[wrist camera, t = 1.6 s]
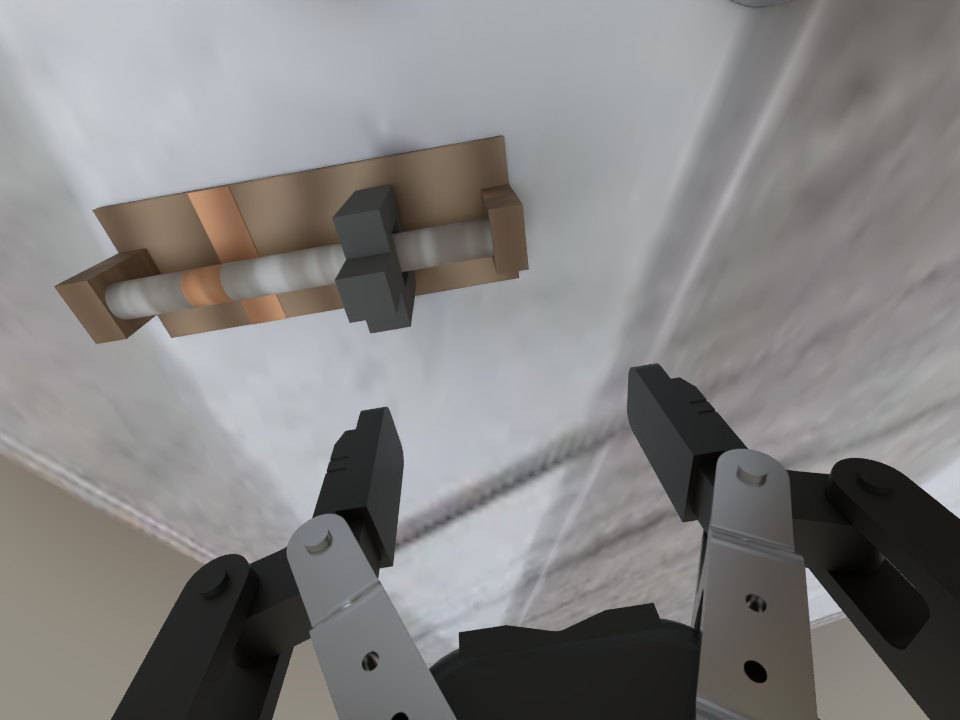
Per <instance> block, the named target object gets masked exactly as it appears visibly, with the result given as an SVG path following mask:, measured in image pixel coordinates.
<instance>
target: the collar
mask: <svg viewBox="0 0 960 720" xmlns="http://www.w3.org/2000/svg"><path fill="white" fill-rule="evenodd" d="M332 219H333V222H334V225H335V228H336V231H337V234H338V237H339V240H340V243H341V246H342V249H343V252H344V255H345V258H346V261H345V262H344V264H343V266H342V268H341V269H340V271H339V273H338V275H337V277H336V278H335V283H336V286H337V288H338V291H339V294H340V297H341V300H342V303H343V305H344V308H345V311H346V314H347V317H348V319H349V322H350V323H352V322H357V321H363V320H366V322H367V325H368V328H369V331H370V333H376V332H382V331H387V330H393V329H399V328H405V327H411V321H412V313H413V306H414V298H415V291H416V279H415V274H414V270H411V271H406V272H401V268H400V264H399V261H398V257H397V253H396V249H395V246H394V242H393V238H392V234H395V233H400V232H404V230H403V226H402V222H401V218H400V214H399V210H398V206H397V202H396V198H395V194H394V190H393V186H392V184H391V185H385V186H380V187H374V188H368V189H363V190H357V191H354V193H353V194H352V195H351V196H350V197H349V198H348V200H347V201H346V202H345V203H344V204H343V206H342V207H341V208H340V209H339V210H338V211H337V213H336V214H335V215H334V216H333V217H332Z"/></svg>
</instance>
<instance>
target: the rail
mask: <svg viewBox="0 0 960 720" xmlns="http://www.w3.org/2000/svg"><path fill="white" fill-rule="evenodd" d="M391 184H392V186H393V190H394V194H395V198H396V202H397V206H398V210H399V214H400V218H401V222H402V226H403V230H404V232H400V233H395V234H392V238H393V242H394V246H395V249H396V253H397V257H398V261H399V264H400V268H401V272H406V271H411V270H414V274H415V279H416V291H415V296H417V295H423V294H429V293H435V292H440V291H446V290H452V289H458V288H463V287H469V286H475V285H481V284H487V283H492V282H498V281H504V280H510V279H516V278H519V272H518V271H522V270H527V269H529V268H528V258H527V248H526V237H525V227H524V217H523V207H522V203H521V201H520V200H519V198H518V197H517V196H516V194H515V193H514V191H513V190H512V188H511V187H510V185H509V182H508V173H507V164H506V155H505V146H504V137H503V136H502V135H501V136H496V137H490V138H485V139H479V140H473V141H468V142H462V143H457V144H451V145H446V146H440V147H434V148H429V149H423V150H418V151H412V152H407V153H401V154H395V155H390V156H384V157H379V158H373V159H367V160H362V161H356V162H351V163H345V164H340V165H334V166H328V167H323V168H317V169H312V170H306V171H301V172H295V173H289V174H284V175H278V176H273V177H267V178H262V179H256V180H250V181H245V182H239V183H234V184H228V185H223V186H217V187H211V188H206V189H200V190H195V191H189V192H184V193H178V194H172V195H167V196H161V197H156V198H150V199H144V200H139V201H133V202H128V203H122V204H117V205H111V206H105V207H100V208H97V209H94V210H93V212H94V213H95V215H96V217H97V218H98V220H99V222H100V223H101V225H102V226H103V228H104V230H105V231H106V233H107V235H108V236H109V238H110V239H111V241H112V243H113V244H114V246H115V247H116V249H117V251H118V252H119V253H118V254H116V255H114V256H112V257H111V258H109V259H107V260H105V261H103V262H101V263H99V264H97V265H95V266H93V267H91V268H89V269H87V270H85V271H83V272H81V273H79V274H77V275H75V276H73V277H71V278H69V279H67V280H66V281H64V282H62V283H60V284H58V285H56V286H54V287H55V288H56V290H57V291H58V293H59V294H60V295H61V297H62V298H63V299H64V301H65V302H66V303H67V305H68V306H69V308H70V309H71V310H72V312H73V313H74V314H75V316H76V317H77V318H78V320H79V321H80V323H81V324H82V325H83V327H84V328H85V329H86V331H87V332H88V334H89V335H90V336H91V338H92V339H93V340H94V342H95V343H96V344H99V343H105V342H111V341H117V340H122V339H127V338H128V337H129V336H131V335H132V334H133V333H134V332H136V331H137V330H138V329H139V328H141V327H142V326H143V325H145V324H146V323H147V322H148V321H150V320H151V319H152V318H153V317H155V316H156V315H158V317H159V319H160V320H161V322H162V323H163V325H164V327H165V328H166V330H167V332H168V333H169V335H170V336H171V338H174V337H180V336H185V335H191V334H197V333H203V332H209V331H214V330H220V329H226V328H232V327H238V326H243V325H249V324H258V323H264V322H269V321H275V320H281V319H287V318H290V317H295V316H301V315H307V314H313V313H319V312H324V311H330V310H336V309H342V308H344V305H343V303H342V300H341V297H340V294H339V291H338V288H337V286H336V283H335V278H336V277H337V275H338V273H339V271H340V269H341V268H342V266H343V264H344V262H345V261H346V258H345V255H344V252H343V249H342V246H341V243H340V240H339V237H338V234H337V231H336V228H335V225H334V222H333V219H332V217H333V216H334V215H335V214H336V213H337V211H338V210H339V209H340V208H341V207H342V206H343V204H344V203H345V202H346V201H347V200H348V198H349V197H350V196H351V195H352V194H353V193H354V191H357V190H363V189H368V188H374V187H380V186H385V185H391Z"/></svg>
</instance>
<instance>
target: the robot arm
mask: <svg viewBox="0 0 960 720" xmlns="http://www.w3.org/2000/svg"><path fill="white" fill-rule="evenodd" d="M733 1H736V2H738V3H741V4H743V5H746V6H753V7H765V6H770V5H775V4H780V3H784V2H788V1H792V0H733ZM627 414H628V420H629V423H630V426H631V429H632V431H633V433H634V435H635V436H636V438H637V440H638V442H639V444H640V446H641V447H642V449H643V451H644V453H645V455H646V456H647V458H648V460H649V462H650V464H651V466H652V467H653V469H654V471H655V473H656V475H657V476H658V478H659V480H660V482H661V484H662V486H663V487H664V489H665V491H666V493H667V495H668V497H669V498H670V500H671V502H672V504H673V506H674V507H675V509H676V511H677V513H678V515H679V517H680V518H681V520H682V522H688V521H695V520H698V521H699V522H700V524H701V526H702V528H703V534H702V540H701V549H700V557H699V566H698V575H697V583H696V592H695V601H694V608H693V614H692V620H691V627H690V626H687V625H685V624H682V623H679V622H675V621H671V620H667V619H660V618H659V615H658V613H657V610H656V608H655V605H654V603H650V604H643V605H636V606H630V607H623V608H617V609H610V610H605V611H603V612H600V613H598V614H596V615H594V616H592V617H590V618H588V619H585V620H583V621H581V622H579V623H577V624H575V625H573V626H570V627H568V628H566V629H564V630H561V631H547V630H539V629H532V628H524V627H516V626H508V625H505V626H498V627H492V628H485V629H479V630H472V631H465V632H459V649H457V650H455V651H453V652H451V653H449V654H448V655H446V656H444V657H443V658H441V659H440V660H439V661H438V662H436V663H435V664H434V665H433V666H431V667H430V668H429V669H428V667H427V665H426V663H425V661H424V660H423V658H422V656H421V654H420V652H419V651H418V649H417V647H416V645H415V643H414V642H413V640H412V638H411V636H410V634H409V633H408V631H407V629H406V627H405V625H404V624H403V622H402V620H401V618H400V616H399V614H398V613H397V611H396V609H395V607H394V605H393V604H392V602H391V600H390V598H389V596H388V595H387V593H386V591H385V589H384V587H383V586H382V584H381V582H380V581H379V580H378V576H379V569H380V568H385V567H391V566H393V561H394V552H395V542H396V533H397V524H398V514H399V505H400V495H401V486H402V477H403V467H404V458H403V450H402V446H401V442H400V439H399V436H398V433H397V431H396V428H395V425H394V422H393V419H392V416H391V413H390V410H389V408H388V407H382V408H376V409H370V410H363V411H361V412H360V415H359V419H358V423H357V427H356V429H354V430H348V431H345V432H344V434H343V435H342V436H341V437H340V439H339V440H338V441H337V442H336V444H335V445H334V449H333V452H332V455H331V458H330V459H331V462H329V465H328V468H327V474H326V475H325V478H324V481H323V485H322V488H321V491H320V494H319V498H318V501H317V504H316V508H315V511H314V514H313V517H312V519H310V520H308V521H307V522H305V523H304V524H303V525H302V526H300V527H299V528H298V529H297V530H296V531H295V533H294V534H293V535H292V537H291V539H290V540H289V543H288V546H287V547H286V548H284V549H282V550H280V551H278V552H276V553H273V554H271V555H269V556H267V557H264V558H262V559H260V560H258V561H255V562H253V563H251V564H249V563H248V561H247V560H246V559H245V558H244V557H243V556H241V555H238V554H228V555H224V556H221V557H218V558H216V559H214V560H212V561H210V562H209V563H207V564H206V565H204V566H203V567H201V568H200V569H199V570H198V571H197V572H196V573H195V574H194V575H193V576H192V577H191V578H190V580H189V581H188V582H187V584H186V585H185V587H184V589H183V591H182V592H181V594H180V596H179V598H178V600H177V601H176V603H175V605H174V607H173V608H172V610H171V612H170V614H169V616H168V618H167V619H166V621H165V623H164V625H163V627H162V628H161V630H160V632H159V634H158V635H157V637H156V639H155V641H154V643H153V645H152V646H151V648H150V650H149V652H148V654H147V655H146V657H145V659H144V661H143V663H142V664H141V666H140V668H139V670H138V672H137V673H136V675H135V677H134V679H133V681H132V682H131V684H130V686H129V688H128V690H127V691H126V693H125V695H124V697H123V699H122V701H121V703H120V704H119V706H118V708H117V710H116V712H115V713H114V715H113V717H112V719H111V720H272V718H273V714H274V711H275V708H276V705H277V701H278V698H279V694H280V691H281V688H282V684H283V681H284V678H285V674H286V671H287V668H288V665H289V661H290V658H291V655H292V651H293V648H294V646H296V645H298V644H300V643H302V642H303V641H306V640H308V639H310V638H311V641H312V644H313V647H314V649H315V652H316V655H317V658H318V661H319V664H320V667H321V669H322V672H323V675H324V678H325V681H326V683H327V687H328V689H329V692H330V695H331V698H332V701H333V704H334V706H335V709H336V712H337V715H338V718H339V720H820V719H819V718H818V716H817V706H816V705H817V704H816V692H815V681H814V668H813V657H812V645H811V632H810V620H809V608H808V596H807V584H806V572H805V567H806V568H809V570H810V571H811V572H812V573H813V575H814V576H815V577H816V578H817V580H818V581H819V582H820V583H821V585H822V586H823V587H824V588H825V590H826V591H827V592H828V593H829V594H830V596H831V597H832V598H833V599H834V601H835V602H836V603H837V604H838V606H839V607H840V608H841V609H842V611H843V612H844V613H845V614H846V616H847V617H848V618H849V619H850V621H851V622H852V623H853V624H854V626H855V627H856V628H857V629H858V631H859V632H860V633H861V634H862V636H863V637H864V638H865V639H866V641H867V642H868V643H869V644H870V646H871V647H872V648H873V649H874V650H875V652H876V653H877V654H878V656H879V657H880V658H881V659H882V661H883V662H884V663H885V664H886V665H887V667H888V668H889V669H890V670H891V672H892V673H893V674H894V675H895V676H896V678H897V679H898V680H899V682H900V683H901V684H902V685H903V687H904V688H905V689H906V690H907V692H908V693H909V694H910V695H911V696H912V698H913V699H914V700H915V701H916V703H917V704H918V705H919V706H920V708H921V709H922V710H923V711H924V713H925V714H926V715H927V717H928V718H929V719H930V720H960V519H959V518H958V517H957V516H955V515H954V514H953V513H952V512H950V511H949V510H948V509H947V508H945V507H944V506H943V505H942V504H940V503H939V502H938V501H937V500H935V499H934V498H933V497H932V496H930V495H929V494H928V493H927V492H925V491H924V490H923V489H922V488H920V487H919V486H918V485H917V484H915V483H914V482H913V481H912V480H910V479H909V478H908V477H907V476H905V475H904V474H902V473H901V472H899V471H898V470H896V469H894V468H892V467H890V466H888V465H886V464H883V463H880V462H877V461H874V460H869V459H863V458H848V459H843V460H841V461H839V462H837V463H836V464H835V465H834V466H833V468H832V470H831V473H830V474H821V473H810V472H799V471H791V470H786V469H785V468H784V467H783V466H782V465H781V464H780V463H779V462H778V461H777V460H775V459H774V458H772V457H771V456H769V455H766V454H764V453H762V452H759V451H755V450H750V449H748V448H747V447H746V446H745V445H744V443H743V442H742V441H741V440H740V439H739V437H738V436H737V435H736V434H735V433H734V432H733V430H732V429H731V428H730V427H729V426H728V424H727V423H726V422H725V421H724V420H723V418H722V417H721V416H720V415H719V414H718V413H717V412H715V409H714V408H713V407H712V405H711V404H710V403H709V402H707V401H706V398H705V397H704V396H703V395H702V393H701V392H700V391H699V390H698V389H697V388H696V387H695V386H694V385H692V384H690V383H688V382H687V381H685V380H683V379H682V378H680V377H679V378H673V379H670V377H669V376H668V375H667V373H666V372H665V371H664V370H663V368H662V367H661V366H660V365H659V364H657V363H656V364H649V365H643V366H637V367H631V368H630V370H629V376H628V400H627ZM916 589H917V590H918V591H919V592H920V593H919V592H918V591H917V590H916Z"/></svg>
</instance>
